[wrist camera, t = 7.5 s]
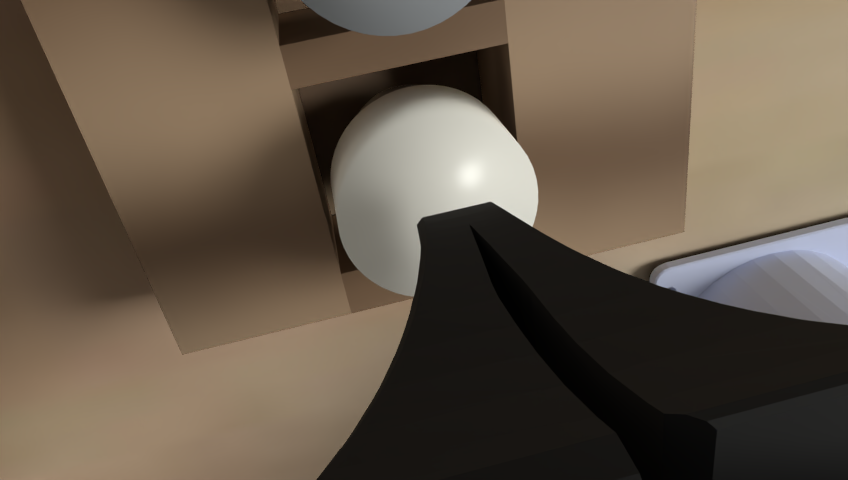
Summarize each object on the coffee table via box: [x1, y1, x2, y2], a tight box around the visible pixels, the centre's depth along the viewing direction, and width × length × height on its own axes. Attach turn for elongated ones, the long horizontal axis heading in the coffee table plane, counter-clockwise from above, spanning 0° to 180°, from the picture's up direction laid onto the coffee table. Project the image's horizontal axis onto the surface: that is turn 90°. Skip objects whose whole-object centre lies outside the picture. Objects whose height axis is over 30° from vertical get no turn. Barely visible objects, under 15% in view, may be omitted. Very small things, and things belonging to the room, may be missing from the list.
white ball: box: [331, 85, 538, 297], centre depth 15 cm, size 4×4×4 cm
